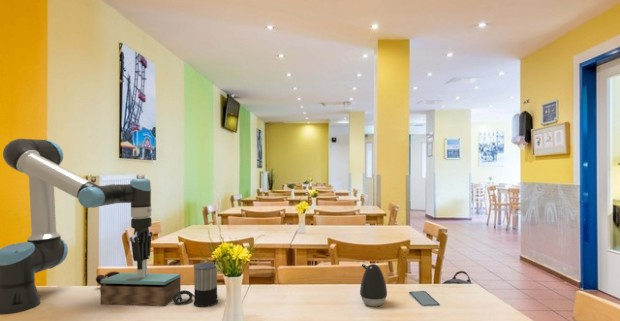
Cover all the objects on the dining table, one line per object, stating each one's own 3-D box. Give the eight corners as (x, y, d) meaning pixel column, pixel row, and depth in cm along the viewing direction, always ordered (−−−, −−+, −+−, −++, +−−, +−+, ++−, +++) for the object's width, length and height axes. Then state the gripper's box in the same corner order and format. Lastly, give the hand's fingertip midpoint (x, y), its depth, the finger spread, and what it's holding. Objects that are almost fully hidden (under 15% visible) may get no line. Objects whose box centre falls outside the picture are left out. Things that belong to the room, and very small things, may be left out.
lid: (100, 283, 153) (100, 279, 153) (121, 275, 167) (121, 272, 167) (164, 284, 150) (164, 280, 151) (180, 277, 164) (180, 273, 164)
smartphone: (421, 305, 148) (408, 291, 163) (421, 308, 148) (408, 294, 163) (440, 304, 149) (425, 290, 164) (440, 307, 149) (425, 293, 164)
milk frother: (221, 304, 152) (220, 266, 152) (179, 312, 144) (178, 272, 144) (210, 294, 164) (210, 258, 164) (170, 301, 156) (170, 263, 156)
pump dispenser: (370, 297, 158) (370, 259, 158) (392, 304, 151) (392, 264, 151) (354, 304, 151) (353, 264, 151) (376, 311, 144) (376, 269, 144)
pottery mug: (126, 285, 178) (128, 271, 175) (117, 301, 170) (118, 287, 166) (100, 279, 177) (100, 265, 174) (88, 295, 169) (89, 281, 165)
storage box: (100, 304, 153) (100, 286, 153) (121, 292, 167) (121, 275, 167) (164, 306, 150) (164, 287, 150) (180, 293, 164) (180, 277, 164)
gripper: (140, 219, 151) (141, 281, 151) (158, 215, 165) (159, 272, 165) (122, 219, 152) (123, 281, 151) (141, 215, 166) (142, 271, 165)
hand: (142, 276), depth 158 cm, fingers closed
